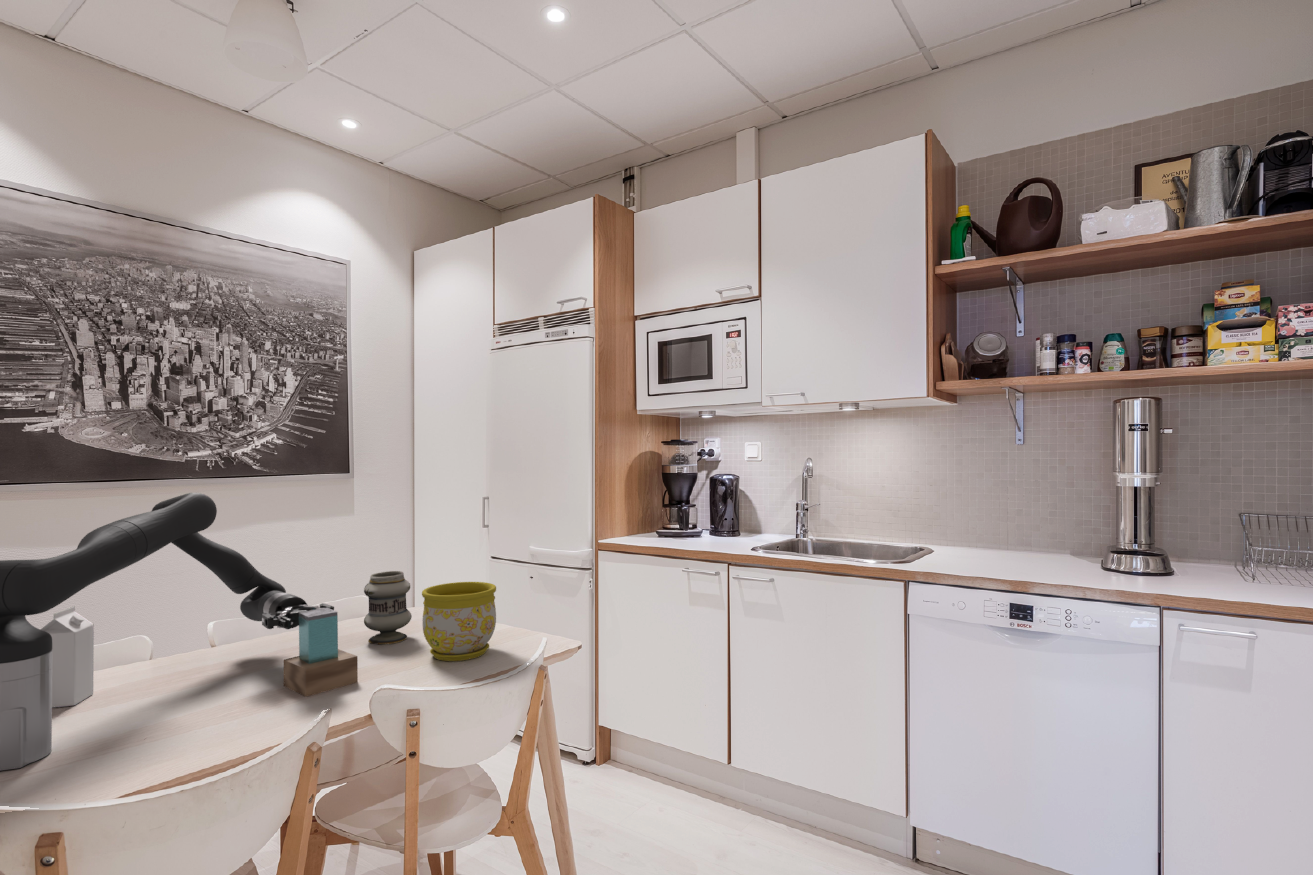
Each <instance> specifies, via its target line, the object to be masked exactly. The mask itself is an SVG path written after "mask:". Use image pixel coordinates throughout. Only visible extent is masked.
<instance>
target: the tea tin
mask: <svg viewBox="0 0 1313 875" xmlns="http://www.w3.org/2000/svg"><path fill="white" fill-rule="evenodd" d="M338 620H339V618H338V611H337V610H335V609H334V610H332V609H330V608H322V609H316V610H311V611H305V612H299V626H298V642H299V643H298V644H299V645H298V646H299V647H298V650H299V651H298V652H299V653H298V656H299V658H300V659H302V660H303V661H305V662H306V663H308V664H311V663H316V662H320V661H324V660H328V659H333V658H337V657H338V649H339V641H338V640H339V637H338V636H339V635H338V634H339V632H338V631H339V628H338V626H339V625H338Z"/></svg>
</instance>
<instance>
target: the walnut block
mask: <svg viewBox="0 0 1313 875" xmlns="http://www.w3.org/2000/svg"><path fill="white" fill-rule="evenodd" d="M358 666H359V664H358V655H355V654H353V653H350V652H347V651H344V650H341V649H339V648H338V657H337V658H333V659H328V660H324V661H320V662H316V663H311V664H308V663H306V662H305V661H303V660H302V659H300V658H299V655H298V656H293V657H290V658H285V659H283V687H285V688H287V689H289V690H291V691H293V692H295V693H297V694H299V695H301V696H303V697H307V698H308V697H310V696H314V695H318V694H321V693H324V692H328V691H331V690H335V689H339V688H342V687H346V686H349V685H353V684H356V683H358V669H359V668H358Z"/></svg>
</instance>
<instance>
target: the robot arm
mask: <svg viewBox="0 0 1313 875" xmlns="http://www.w3.org/2000/svg"><path fill="white" fill-rule="evenodd" d="M217 513H218V508H217V505H216V503H215V501H214V500H213V499H212V498H211V497H210V496H208V495H206V494H205V493H201V492H189V493H185V494H181V495H178V496H175V497H172V498H168V499H166V500H165V499H164V500H162V501H161V502H158V503H156V504H155V505H154V506H153V507H152V509H151V511H148V512H143V513H138V514H135V515H131V516H128V517H124V518H121V519H118V520H115V521H112V522H110V523H106V524H105V525H103V526H100V527H97V528H95V529H93V530H91V531H90V532H88V533H86V534H85V535H84V536H83V537H82V538H81V540H80V541H79V543H78V545H77V547H76V549H73V550H70V551H68V552H66V553H63V554H59V555H57V556H53V557H48V558H40V559H5V560H4V559H1V560H0V771H7V770H8V771H9V770H13V769H14V770H16V769H20V768H23V767H24V766H26V765H29V764H32V763H34V762H37V761H39V760H41V759H44V758H45V757H46V756H48V755H50V754H51V752H52V743H53V742H52V738H53V737H52V736H53V734H52V733H53V729H52V728H53V727H52V726H53V723H52V722H53V721H52V720H53V718H52V717H53V708H52V636H51V635H50V634H49V633H47V632H45V631H42V630H40V628H38V627H35V626H34V625H32V624H31V623H30V622H29V621H28V620H27V618H26V616H33V615H34V616H35V615H39V614H42V613H45V612H48V611H50V610H52V609H54V608H55V607H57V606H59V605H60V604H62V603H64V602H65V601H66V600H68V599H70V598H71V597H73V596H74V595H76V594H77V593H79V592H80V591H82V590H84V589H85V588H87V587H89V586H90V585H92V584H94V583H95V582H98V581H100V580H103V579H105V578H106V577H108V576H111V575H112V574H114V573H117V572H118V571H121V570H124V569H126V568H128V567H130V566H132V565H133V564H136V563H138V562H140V561H141V560H143V559H145V558H147V557H149V556H151V555H152V554H154V553H156V552H157V551H159V550H161V549H163V548H164V547H166V546H167V545H169V544H172V545H174V546H176V547H177V548H178V549H180V550H181V551H182V552H184V553H185V554H187V555H189V556H190V557H192V558H193V559H194V560H196V561H197V562H199V563H200V564H202V565H203V566H204V567H206V568H207V569H209V571H211V572H212V573H213V574H214V575H215V576H216V577H218V579H219V580H220V581H221V582H222V583H223V584H225V586H227V587H228V589H229V590H231V591H232V593H234V594H236V595H242V594H246V593H248V592H250V591H251V592H250V593H249V594H248V595H246V596H245V597H244V598H243V599H242V600H241V602H240V605H239V609H240V612H241V614H242V615H243V616H244V617H246V618H247V619H249V620H250V621H254V622H261V626H263V627H264V628H266V629H267V630H272V629H274V628H275V627H277V629H285V630H291V629H294V628H297V627H299V612H305V611H311V610H316V609H322V608H330V609H332V610H334V611H335V606H334V605H330V604H327V603H320V604H319V606H318V605H308V603H307V602H306V600H305V599H303V598H302V597H300V596H297V595H294V594H292V593H288V592H287V590H286V589H285V587H284V586H283V585H282V584H281V583H278V582H277V581H275V580H273V579H271V578H270V577H267V576H265V575H264V574H263V573H261V572H260V571H258V569H256V567H255V566H253V564H252V563H250V561H249V560H248V559H247V558H246V557H245V556H244V555H243V554H241V553H240V552H238V551H236V550H234V549H233V548H230V547H228V546H225V545H223V544H220V543H217V542H215V541H213V540H211V539H209V538H207V537H206V536H203V535H202V534H201V533H200V532H202V531H204V530H206V529H208V528H209V527H211V526H212V525H213V523H214V522H215V520H216V517H217Z"/></svg>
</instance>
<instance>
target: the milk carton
mask: <svg viewBox="0 0 1313 875" xmlns="http://www.w3.org/2000/svg"><path fill="white" fill-rule="evenodd" d="M94 627H95V625H94V623H93V622H92V621H90V620H89V619H87V618H86V617H84V616H83V615H82V614H80V613H78V612H77V611H76V606H72V607H69V608H65V609H63V610H60V611H57V612H56V613H53V619H52V620H50V622H48V623H47V624H46V625H44V626H43V627H41V629H40V628H39V629H40V630H42V631H45V632H47V633H49V634H50V635H51V636H52V709H53V708H61V707H62V708H63V707H69V706H70V707H72V706H76V705H78V704H79V703H81V702H82V701H84V700H86V699H87V698H89V697H91V696H92V695H93V694H94V671H95V670H94V663H95V662H94V659H95V658H94V655H95V654H94V650H95V646H94V645H95V644H94V643H95V642H94V640H95V638H94V637H95V636H94V635H95V634H94V633H95V628H94Z"/></svg>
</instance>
